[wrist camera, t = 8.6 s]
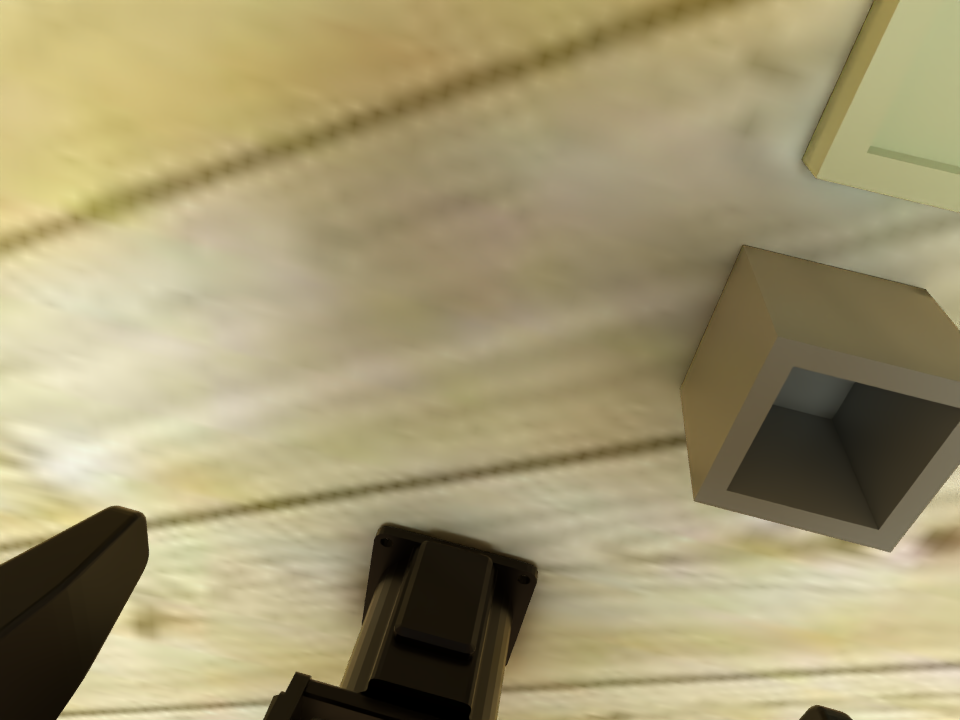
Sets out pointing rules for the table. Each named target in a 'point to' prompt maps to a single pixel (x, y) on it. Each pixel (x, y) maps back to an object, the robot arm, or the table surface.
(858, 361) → the pen cup
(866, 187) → the tray
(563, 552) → the table surface
